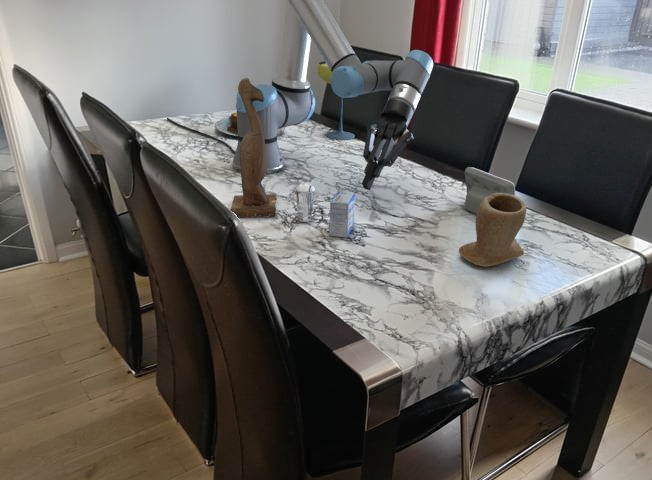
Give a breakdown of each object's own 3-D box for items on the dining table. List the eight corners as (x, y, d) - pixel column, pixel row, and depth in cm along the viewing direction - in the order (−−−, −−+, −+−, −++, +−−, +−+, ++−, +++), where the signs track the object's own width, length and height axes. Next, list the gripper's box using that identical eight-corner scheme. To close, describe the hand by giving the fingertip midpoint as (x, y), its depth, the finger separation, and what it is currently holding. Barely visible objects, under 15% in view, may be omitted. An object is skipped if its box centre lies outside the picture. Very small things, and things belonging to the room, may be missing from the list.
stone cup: (487, 277, 121) (499, 211, 114) (450, 255, 130) (460, 191, 122) (537, 263, 128) (552, 199, 121) (499, 242, 137) (511, 182, 130)
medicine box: (347, 238, 135) (349, 203, 130) (328, 236, 135) (329, 201, 131) (353, 225, 141) (355, 192, 137) (336, 223, 142) (337, 190, 138)
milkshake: (301, 225, 140) (301, 186, 135) (292, 217, 144) (292, 179, 139) (318, 223, 142) (319, 184, 137) (309, 215, 146) (310, 177, 141)
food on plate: (293, 127, 221) (294, 110, 218) (271, 144, 200) (271, 125, 197) (232, 120, 226) (231, 103, 222) (203, 135, 204) (202, 117, 201)
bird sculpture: (279, 218, 143) (277, 83, 127) (231, 218, 141) (223, 82, 126) (276, 201, 153) (275, 74, 137) (231, 202, 151) (225, 73, 135)
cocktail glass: (335, 127, 225) (338, 59, 213) (374, 136, 216) (379, 65, 204) (306, 135, 212) (307, 63, 200) (345, 145, 203) (349, 70, 191)
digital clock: (518, 220, 150) (526, 181, 145) (490, 225, 146) (498, 185, 141) (480, 199, 162) (486, 162, 157) (454, 203, 159) (459, 165, 154)
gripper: (373, 94, 147) (338, 174, 142) (420, 101, 141) (385, 184, 137) (381, 112, 153) (347, 189, 149) (426, 119, 148) (393, 199, 143)
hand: (365, 186), depth 143 cm, fingers closed
